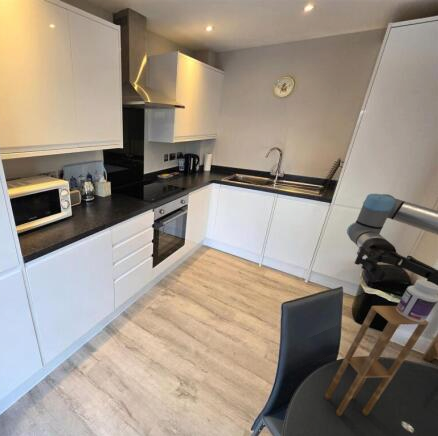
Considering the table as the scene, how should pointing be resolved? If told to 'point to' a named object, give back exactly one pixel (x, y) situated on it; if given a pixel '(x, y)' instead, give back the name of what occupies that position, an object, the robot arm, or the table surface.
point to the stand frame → (371, 363)
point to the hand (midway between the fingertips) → (414, 283)
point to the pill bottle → (418, 301)
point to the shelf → (394, 315)
